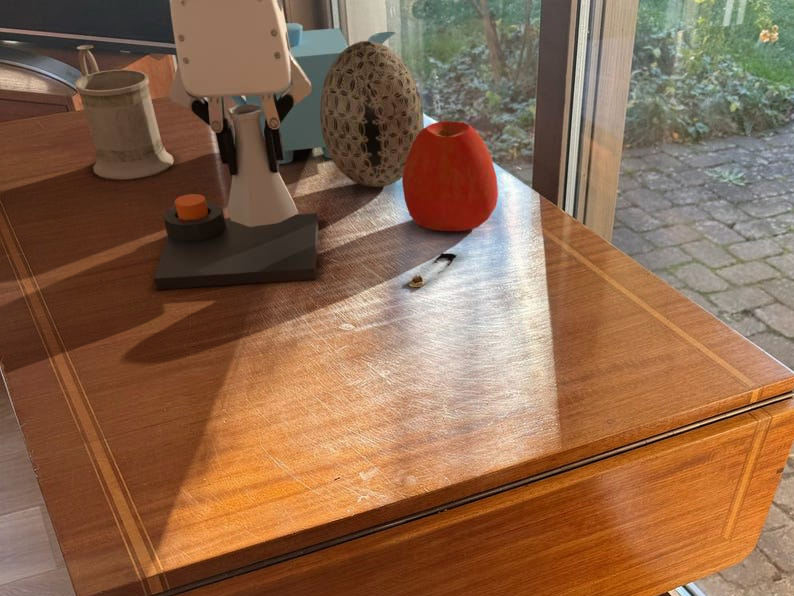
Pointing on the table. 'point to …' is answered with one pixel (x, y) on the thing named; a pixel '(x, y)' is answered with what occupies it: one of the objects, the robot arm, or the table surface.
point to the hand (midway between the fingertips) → (254, 167)
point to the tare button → (191, 207)
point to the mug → (121, 121)
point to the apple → (449, 178)
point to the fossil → (418, 279)
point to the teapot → (315, 60)
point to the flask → (255, 175)
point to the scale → (236, 251)
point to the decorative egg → (370, 114)
